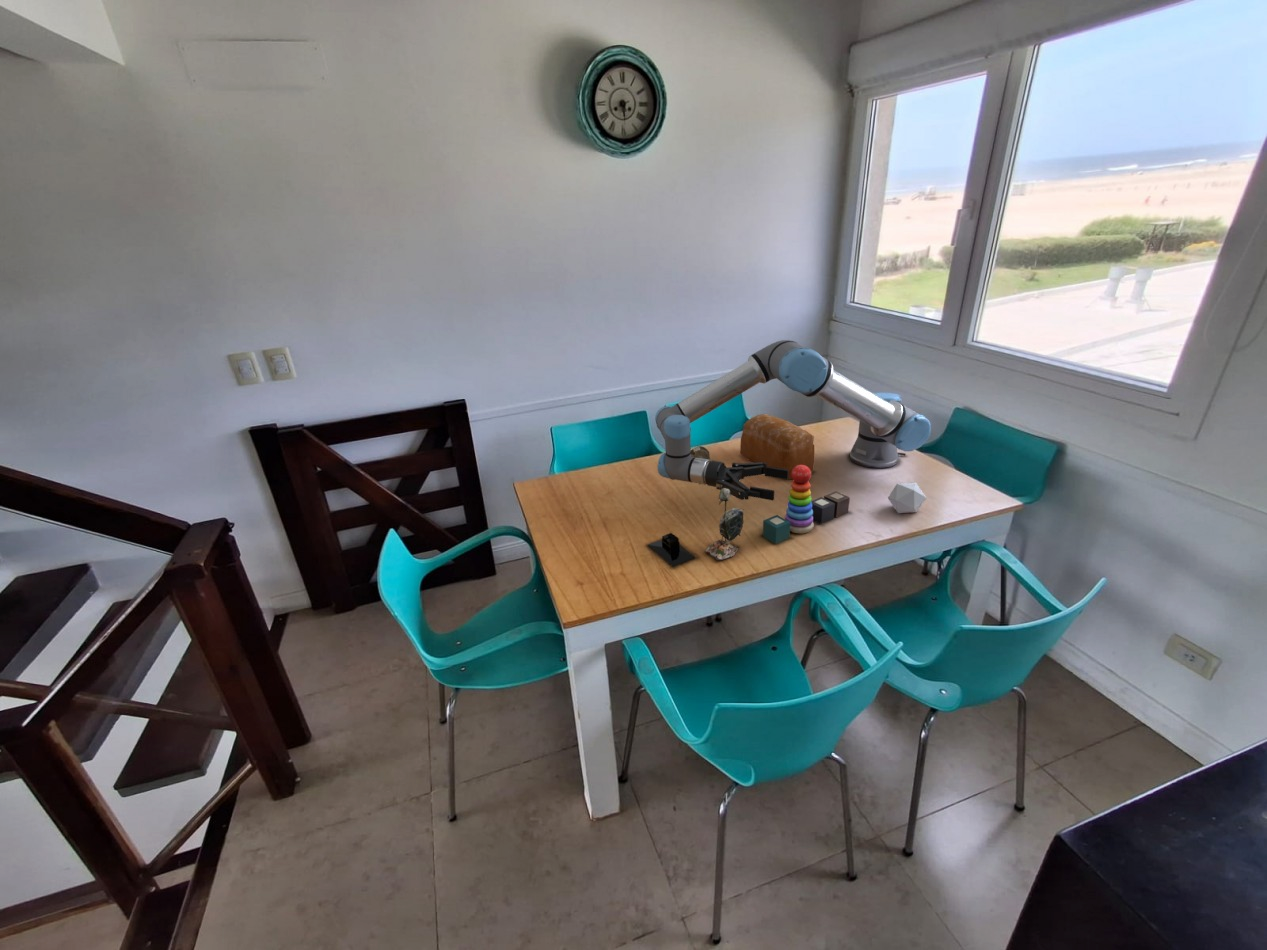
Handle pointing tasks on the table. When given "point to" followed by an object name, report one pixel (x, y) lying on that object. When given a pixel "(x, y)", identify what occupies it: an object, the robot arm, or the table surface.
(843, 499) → the walnut block
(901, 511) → the die
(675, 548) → the build plate
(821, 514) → the charcoal block
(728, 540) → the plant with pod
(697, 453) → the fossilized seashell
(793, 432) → the bread
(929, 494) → the table surface
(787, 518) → the stacking toy
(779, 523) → the teal block
